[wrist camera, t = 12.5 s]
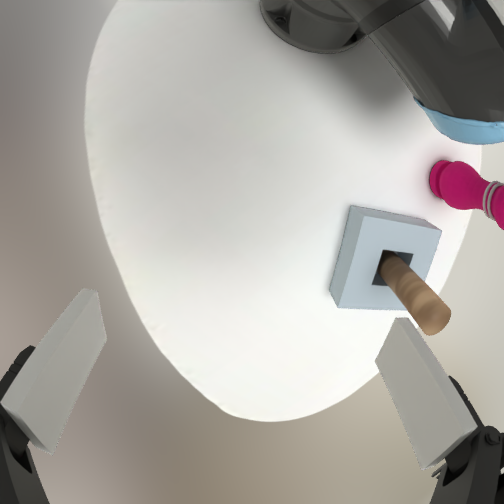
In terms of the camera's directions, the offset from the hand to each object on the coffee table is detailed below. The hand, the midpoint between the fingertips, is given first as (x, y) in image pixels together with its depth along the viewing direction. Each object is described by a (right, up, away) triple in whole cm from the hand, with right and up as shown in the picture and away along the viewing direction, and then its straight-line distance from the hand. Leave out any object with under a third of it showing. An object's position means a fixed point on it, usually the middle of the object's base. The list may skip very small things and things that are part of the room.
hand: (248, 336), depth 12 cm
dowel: (+20, +3, +30) cm, 36 cm away
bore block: (+20, +3, +31) cm, 37 cm away
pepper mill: (+31, +15, +26) cm, 43 cm away
